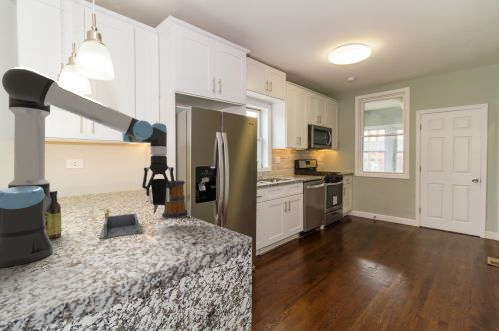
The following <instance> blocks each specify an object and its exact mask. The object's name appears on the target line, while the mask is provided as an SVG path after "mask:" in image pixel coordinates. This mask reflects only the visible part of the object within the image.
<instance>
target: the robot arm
mask: <svg viewBox="0 0 499 331" xmlns="http://www.w3.org/2000/svg"><path fill="white" fill-rule="evenodd" d="M1 84H2V87H3V89H4V90H5V92H6V93H7V95H8V110H9V111H11V112H12V113H13V114H14V133H13V134H14V137H13V138H14V140H13V141H14V145H13V148H14V150H13V151H14V152H13V153H14V158H13V159H14V160H13V161H14V162H13V163H14V164H13V166H14V167H13V168H14V169H13V180H12V181H10V182H9V183H8V184H7V188H3V189H0V268H7V267H8V268H9V267H14V266H20V265H24V264H29V263H32V262H36V261H39V260H41V259H44V258H47V257H49V256H50V255H51V254H53V252H54V250H53V247H54V246H53V243H52V241H51V240H50V239H51V238H50V239H49V237H48V235H47V233H46V231H45V212H46V211H47V210H48V209H49V207H50V205H51V196H50V191H51V190H50V189H51V188H50V185H51V184H50V182H49V180H47V179H46V178H45V177H46V175H45V174H46V170H45V169H46V166H45V165H46V163H45V162H46V117H48V116H49V115H51V106H53V107H56V108H58V109H61V110H62V111H65V112H68V113H71V114H73V115H75V116H76V115H77V116H79V117H81V118H84V119H86V120H89V121H91V122H94V123H96V124H98V125H102V126H104V127H107V128H109V129H112V130H113V131H116V132H120V133H122V134H121V138H122V141H123V142H125V143H145V144H146V143H147V144H150V165H149V166H148V167H144V168H143V172H144V173H143V179H142V183H141V184H142V185H141V188H142V189H144V190H145V191H146V193H145V194H146V195H145V196H146V197H148V204H152V189H151V184H152V181H151V180H153V179H155V177H156V175H162V176H163V179H167V186H168V188H167V202H169V195H171V189H172V187H175V181H174V180H175V176H174V168H175V167H171V166H169V165H168V156H167V155H168V147H167V146H168V145H167V142H168V140H167V138H168V137H167V136H168V130H167V129H168V128H167V125H166V124H164V123H159V122H158V123H157V122H156V123H155V122H154V123H153V122H152V123H151V122H148V121H146V120H140V119H137V118H135V117H132V116H130V115H129V114H125V113H123V112H121V111H118V110H117V109H114V108H112V107H110V106H107V105H105V104H102V103H101V102H98V101H96V100H94V99H92V98H89V97H87V96H85V95H82V94H81V93H78V92H76V91H73V90H71V89H69V88H67V87H64V86H62V85H60V83H59V82H58V80H55V79H54V78H51V77H49V76H47V75H45V74H43V73H41V72H38V71H36V70H34V69H31V68H28V67H23V66H21V67H20V66H19V67H13V68H10V69H8V70H7V71H5V73H4V74H3V75H2V79H1ZM149 171H151V172H152V173H151V175H150V179H149V180H147V178H148V173H149ZM166 171H168V172H169V176H170V179H169V178H168V176H167V173H166ZM147 181H148V183H147ZM169 181H171V183H172V185H171V184H170V182H169Z"/></svg>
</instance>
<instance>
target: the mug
mask: <svg viewBox="0 0 499 331" xmlns="http://www.w3.org/2000/svg"><path fill="white" fill-rule="evenodd" d="M174 181H175V187H172V189H171V195H169V202H167V188H168V186H167V188H166V199H165V204H159V205H155V204H153V203H152V205H153V215H154V214H156V212H157V210H158V207H159V206H164V210H163V213H162V216H161V217H162V218H163V217H164V218H163V219H169V218H172V219H180V218H179V217H181V218H185V217H187V216H189V214H188V210H187V209H186V203H185V192H184V185H185V183H186V182H185V180H182V179H181V180H179V179H178V180H175V179H174ZM169 182H170V184H171V185H172V183H171V180H169ZM185 215H186V216H185ZM184 216H185V217H184Z"/></svg>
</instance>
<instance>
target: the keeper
mask: <svg viewBox="0 0 499 331" xmlns="http://www.w3.org/2000/svg"><path fill="white" fill-rule="evenodd" d="M109 211H110V210H109V209H107V208H106V209H104V222H103V227H102V228H101V232H100V236H99V240H105V239H110V238H117V237H124V236H129V235H130V236H131V235H137V234H143V229H142V226H141V222H139V218H138V216H137V213H134V212H133V213H128V214H127V213H126V214H119V215H109V214H110V212H109ZM104 238H105V239H104Z"/></svg>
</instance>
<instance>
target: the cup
mask: <svg viewBox="0 0 499 331" xmlns="http://www.w3.org/2000/svg"><path fill="white" fill-rule="evenodd" d="M151 181H152V184H151V186H150V189H151V200H152V205H153V204H155V205H158V206H160V205H159V204H165V199H166V188H167V179H164V178H154V179H153V180H151Z"/></svg>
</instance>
